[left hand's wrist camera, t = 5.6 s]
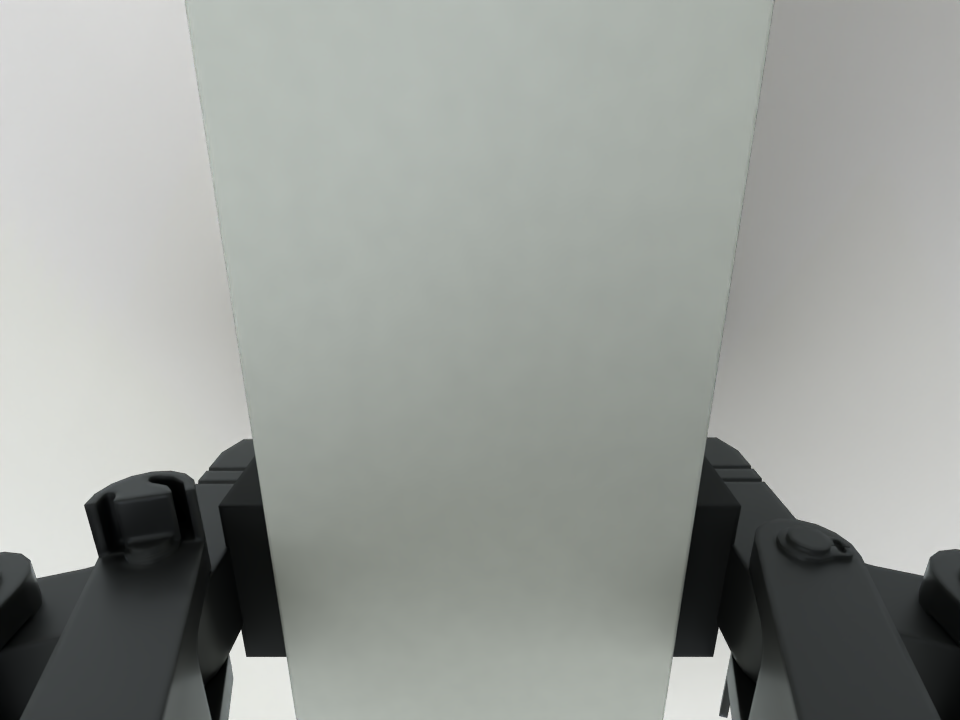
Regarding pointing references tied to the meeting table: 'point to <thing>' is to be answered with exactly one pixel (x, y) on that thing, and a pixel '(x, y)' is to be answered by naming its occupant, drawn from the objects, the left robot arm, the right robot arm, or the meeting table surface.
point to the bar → (479, 331)
